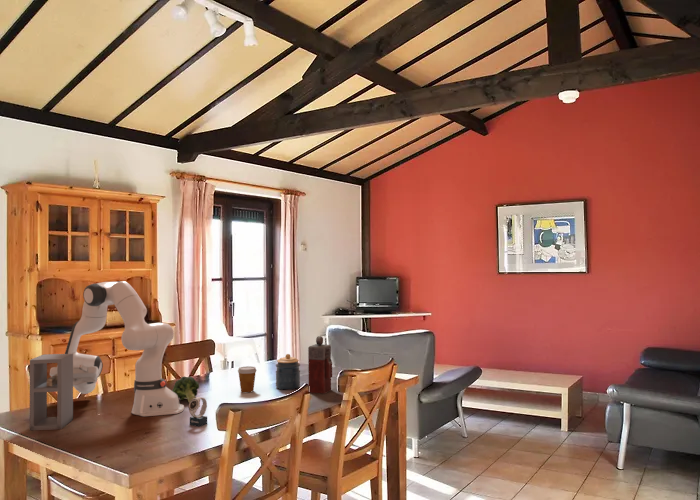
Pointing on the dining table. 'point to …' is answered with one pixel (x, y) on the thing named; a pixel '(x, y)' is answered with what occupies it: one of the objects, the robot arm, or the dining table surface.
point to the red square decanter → (319, 367)
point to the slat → (52, 380)
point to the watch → (193, 406)
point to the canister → (287, 373)
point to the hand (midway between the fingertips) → (69, 366)
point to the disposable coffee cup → (247, 378)
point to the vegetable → (186, 388)
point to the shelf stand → (40, 391)
